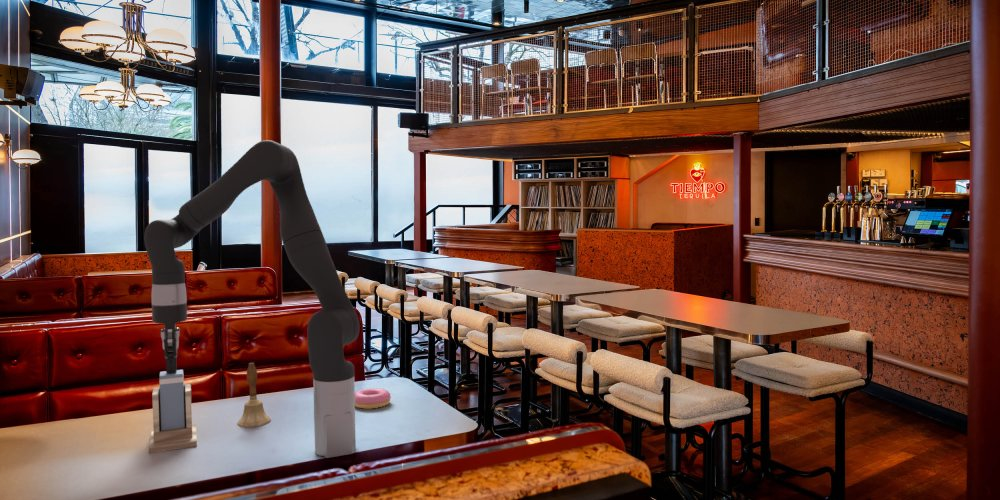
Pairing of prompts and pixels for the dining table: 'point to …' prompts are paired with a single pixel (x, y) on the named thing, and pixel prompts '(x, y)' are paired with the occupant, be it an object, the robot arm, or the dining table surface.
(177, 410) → the block
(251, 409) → the hand bell
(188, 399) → the tan frame
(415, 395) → the dining table surface
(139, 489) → the dining table surface
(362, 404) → the doughnut
